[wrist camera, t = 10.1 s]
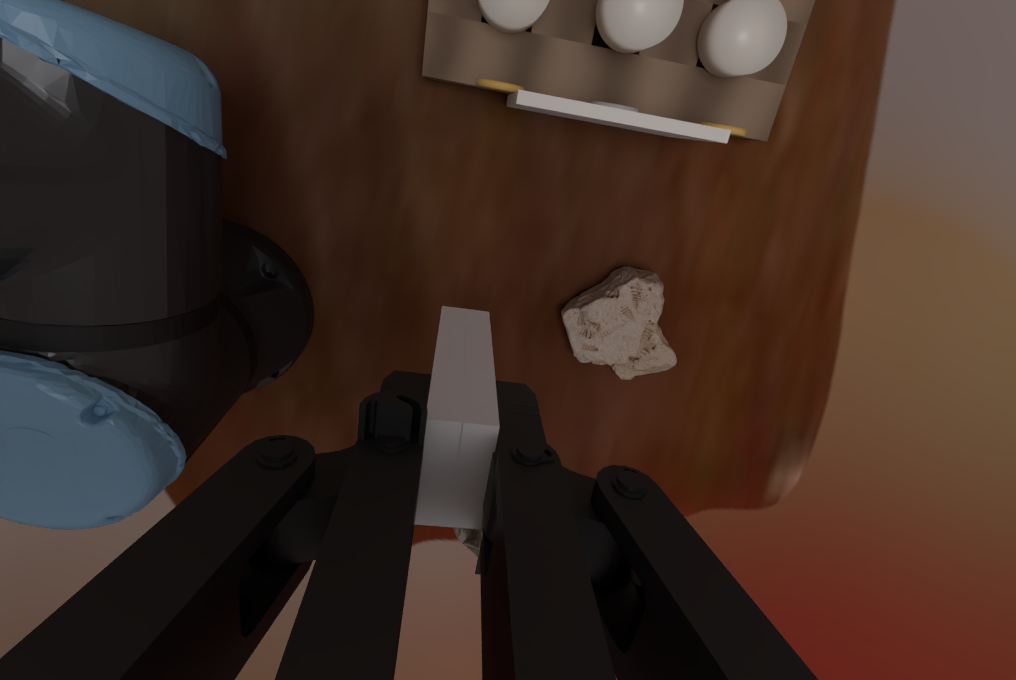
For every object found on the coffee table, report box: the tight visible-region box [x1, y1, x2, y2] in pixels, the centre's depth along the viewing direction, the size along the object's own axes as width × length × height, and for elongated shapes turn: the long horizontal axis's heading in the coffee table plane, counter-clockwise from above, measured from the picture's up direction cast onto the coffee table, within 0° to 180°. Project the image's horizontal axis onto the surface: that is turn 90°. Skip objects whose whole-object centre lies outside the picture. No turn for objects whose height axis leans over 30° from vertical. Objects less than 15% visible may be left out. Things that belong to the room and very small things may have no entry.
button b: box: [596, 0, 684, 53], centre depth 34 cm, size 5×5×6 cm
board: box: [422, 0, 815, 141], centre depth 37 cm, size 27×12×3 cm, turn 81°
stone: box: [561, 267, 677, 380], centre depth 47 cm, size 9×11×5 cm
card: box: [476, 79, 747, 143], centre depth 37 cm, size 19×1×10 cm, turn 81°
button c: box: [697, 0, 787, 77], centre depth 36 cm, size 5×5×6 cm
